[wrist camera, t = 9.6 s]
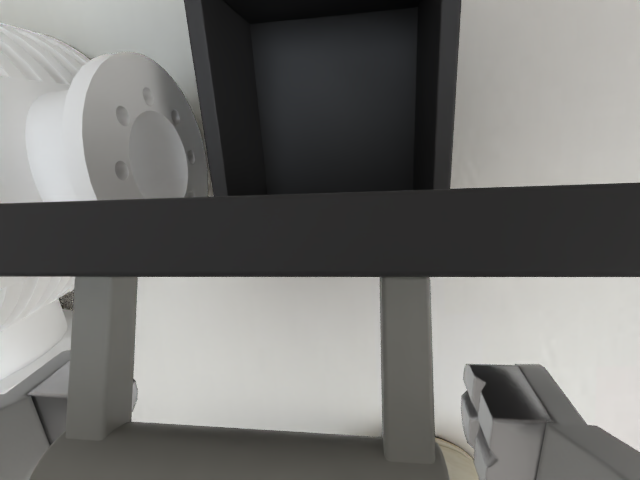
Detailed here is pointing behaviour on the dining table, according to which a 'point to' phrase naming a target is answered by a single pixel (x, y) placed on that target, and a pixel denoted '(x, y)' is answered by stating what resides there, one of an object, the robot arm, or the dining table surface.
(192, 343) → the dining table surface
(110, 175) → the housing
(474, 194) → the chamber lid
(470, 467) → the jug
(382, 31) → the box
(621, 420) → the dining table surface
